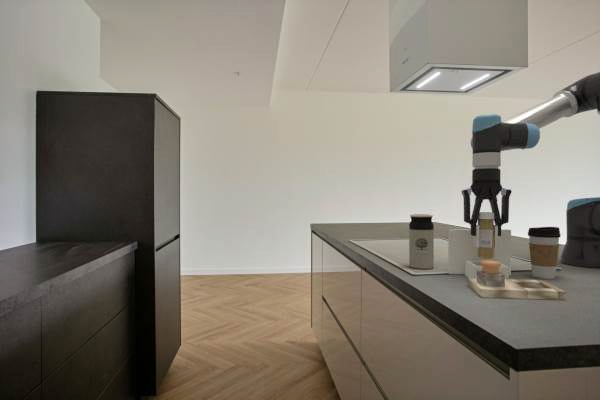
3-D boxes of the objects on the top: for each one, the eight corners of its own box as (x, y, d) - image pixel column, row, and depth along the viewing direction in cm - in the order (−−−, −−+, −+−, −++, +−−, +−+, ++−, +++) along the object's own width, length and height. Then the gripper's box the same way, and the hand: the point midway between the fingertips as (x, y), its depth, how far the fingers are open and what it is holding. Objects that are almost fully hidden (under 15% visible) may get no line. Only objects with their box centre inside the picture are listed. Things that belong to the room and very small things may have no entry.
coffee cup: (565, 280, 112) (566, 228, 111) (533, 279, 114) (533, 228, 113) (552, 274, 120) (553, 226, 120) (523, 273, 122) (523, 225, 121)
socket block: (541, 287, 104) (542, 269, 104) (565, 300, 92) (565, 279, 92) (467, 285, 107) (467, 267, 107) (481, 297, 95) (481, 277, 95)
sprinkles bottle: (496, 257, 115) (496, 212, 114) (491, 259, 111) (491, 212, 111) (479, 255, 118) (480, 211, 117) (474, 257, 114) (475, 212, 114)
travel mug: (412, 264, 138) (412, 214, 138) (435, 266, 134) (435, 214, 134) (406, 268, 131) (406, 215, 131) (430, 270, 127) (430, 215, 127)
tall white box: (508, 274, 120) (509, 229, 120) (525, 283, 109) (525, 233, 108) (448, 272, 123) (448, 229, 123) (458, 281, 111) (458, 233, 111)
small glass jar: (496, 279, 102) (496, 260, 102) (502, 283, 98) (502, 263, 98) (478, 278, 103) (478, 259, 103) (484, 282, 98) (484, 263, 98)
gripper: (512, 168, 116) (512, 245, 117) (452, 169, 119) (451, 244, 119) (523, 167, 109) (522, 249, 109) (458, 167, 111) (457, 248, 112)
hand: (485, 246), depth 114 cm, fingers closed on sprinkles bottle, 4 cm apart
